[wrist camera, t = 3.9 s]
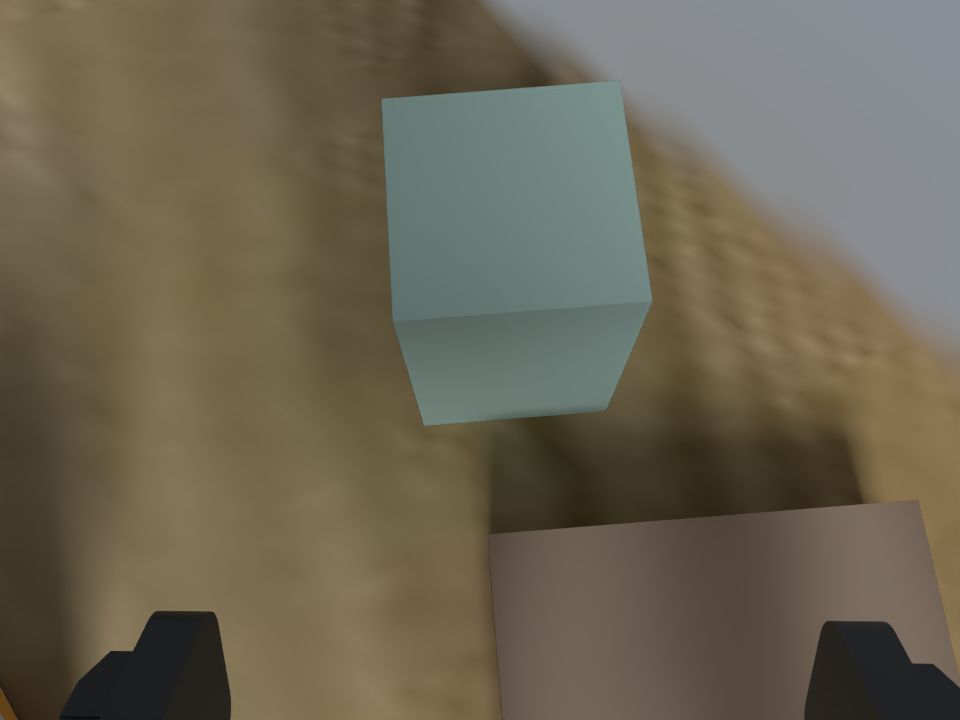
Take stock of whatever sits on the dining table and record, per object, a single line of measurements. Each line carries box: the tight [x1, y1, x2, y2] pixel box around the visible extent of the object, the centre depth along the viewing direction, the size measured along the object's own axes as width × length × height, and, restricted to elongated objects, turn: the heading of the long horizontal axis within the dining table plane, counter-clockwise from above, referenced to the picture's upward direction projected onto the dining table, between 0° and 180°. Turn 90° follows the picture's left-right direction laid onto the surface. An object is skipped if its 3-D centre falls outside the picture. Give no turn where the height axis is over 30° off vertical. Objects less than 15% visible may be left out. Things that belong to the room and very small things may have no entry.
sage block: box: [382, 81, 652, 426], centre depth 22 cm, size 5×5×8 cm
